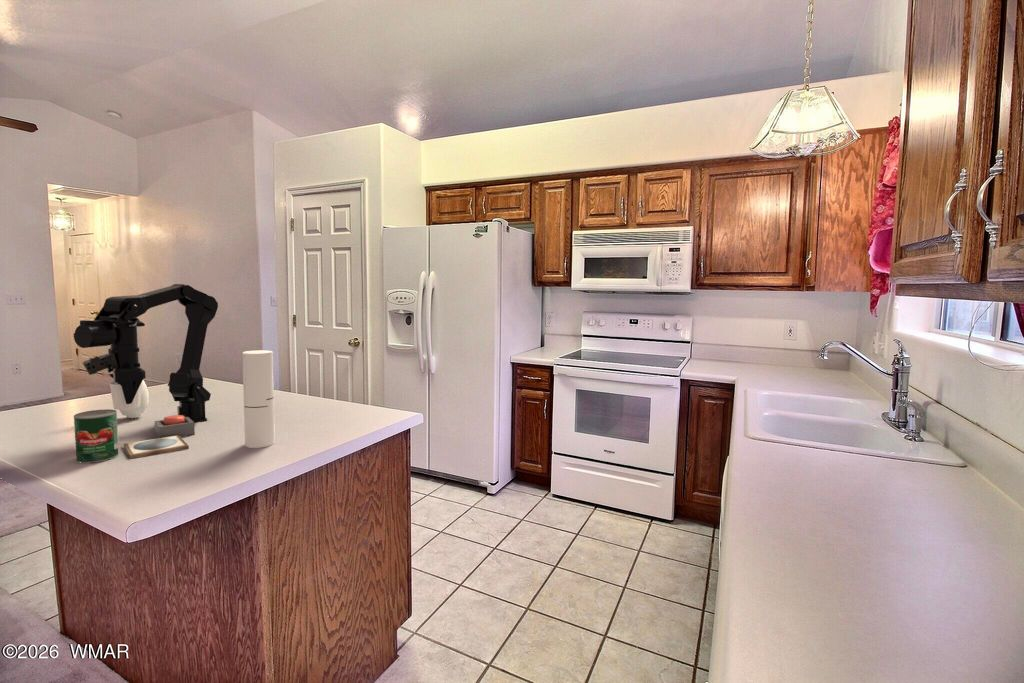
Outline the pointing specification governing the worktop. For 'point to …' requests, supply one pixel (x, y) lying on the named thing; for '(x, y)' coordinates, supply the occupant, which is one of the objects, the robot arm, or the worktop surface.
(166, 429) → the button housing
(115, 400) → the white cup
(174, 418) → the button
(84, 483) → the worktop surface
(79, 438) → the canned tomato
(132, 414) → the sauce bottle
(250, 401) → the cylindrical container
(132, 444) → the wooden picture frame
